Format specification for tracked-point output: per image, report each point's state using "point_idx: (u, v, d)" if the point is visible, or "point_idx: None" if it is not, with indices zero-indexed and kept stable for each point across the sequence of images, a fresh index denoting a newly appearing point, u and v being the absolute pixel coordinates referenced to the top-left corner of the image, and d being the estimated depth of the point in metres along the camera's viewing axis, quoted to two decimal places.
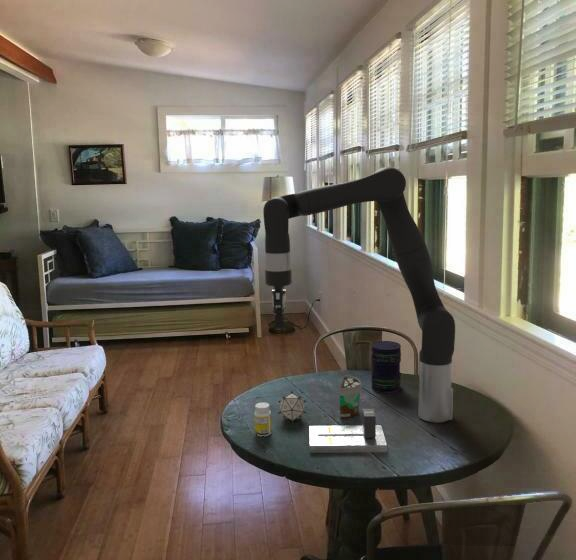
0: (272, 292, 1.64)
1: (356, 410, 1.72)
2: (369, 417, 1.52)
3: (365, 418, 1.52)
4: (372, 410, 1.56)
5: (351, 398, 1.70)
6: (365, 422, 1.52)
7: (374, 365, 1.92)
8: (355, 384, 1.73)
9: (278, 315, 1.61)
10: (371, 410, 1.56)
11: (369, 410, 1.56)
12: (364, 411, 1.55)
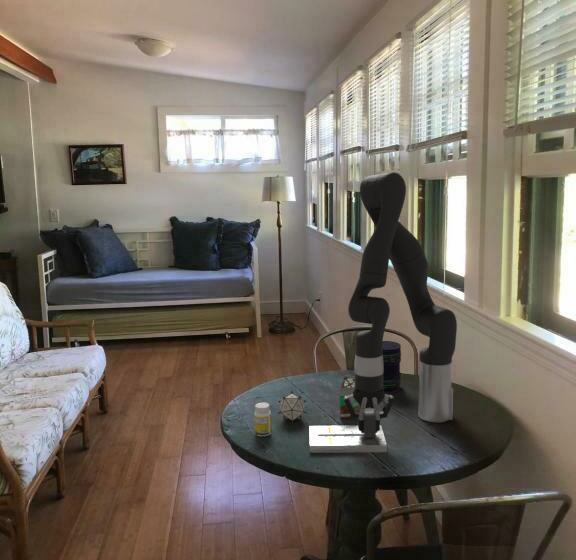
0: (376, 398, 1.52)
1: (356, 410, 1.72)
2: (369, 417, 1.52)
3: (365, 418, 1.52)
4: (372, 410, 1.56)
5: None
6: (365, 422, 1.52)
7: None
8: None
9: None
10: (371, 410, 1.56)
11: (369, 410, 1.56)
12: None
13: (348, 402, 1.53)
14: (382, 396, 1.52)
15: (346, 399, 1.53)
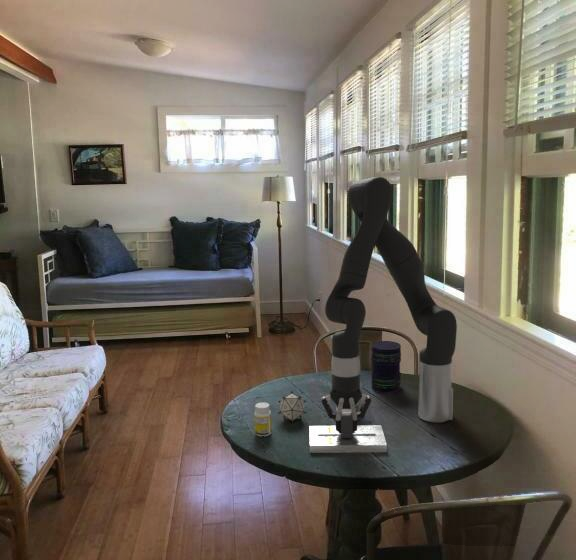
0: (353, 398, 1.52)
1: (356, 410, 1.72)
2: (346, 417, 1.52)
3: (342, 418, 1.52)
4: (350, 410, 1.56)
5: None
6: (342, 422, 1.53)
7: (374, 365, 1.92)
8: None
9: None
10: (349, 410, 1.56)
11: (347, 410, 1.56)
12: None
13: (325, 402, 1.53)
14: (359, 396, 1.53)
15: (323, 399, 1.53)
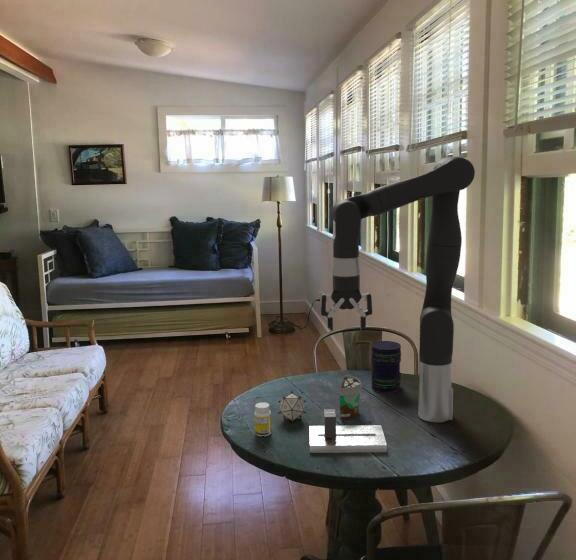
0: (352, 298, 1.59)
1: (356, 410, 1.72)
2: (330, 417, 1.52)
3: (325, 418, 1.53)
4: (333, 410, 1.56)
5: (351, 398, 1.70)
6: (325, 422, 1.53)
7: (374, 365, 1.92)
8: (355, 384, 1.73)
9: None
10: (332, 410, 1.56)
11: (330, 410, 1.56)
12: (325, 411, 1.56)
13: (324, 299, 1.60)
14: (359, 296, 1.60)
15: (324, 295, 1.60)
